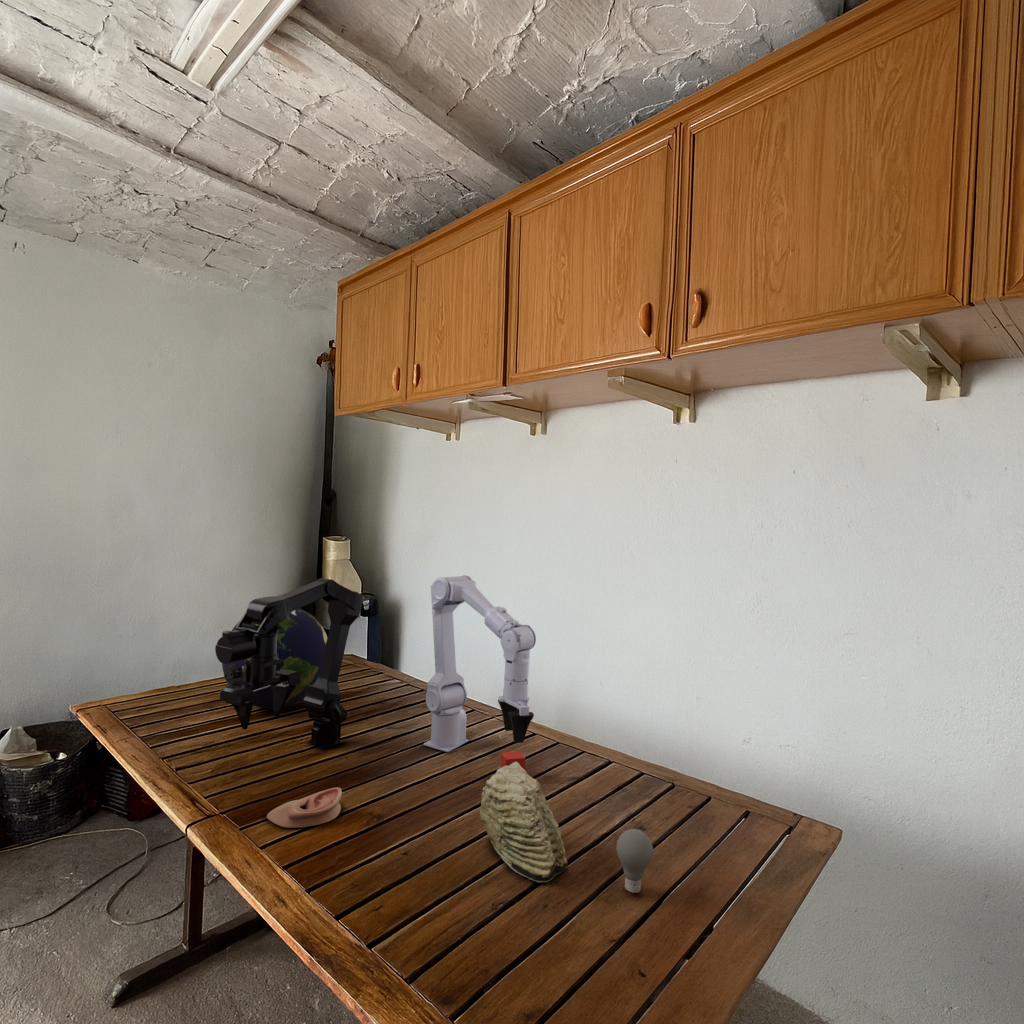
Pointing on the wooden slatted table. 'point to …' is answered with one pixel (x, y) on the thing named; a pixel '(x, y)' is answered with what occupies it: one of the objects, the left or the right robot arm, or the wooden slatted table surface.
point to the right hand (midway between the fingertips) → (514, 736)
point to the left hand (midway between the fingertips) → (260, 722)
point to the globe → (293, 656)
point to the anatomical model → (308, 810)
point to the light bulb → (634, 857)
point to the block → (512, 758)
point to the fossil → (522, 824)
